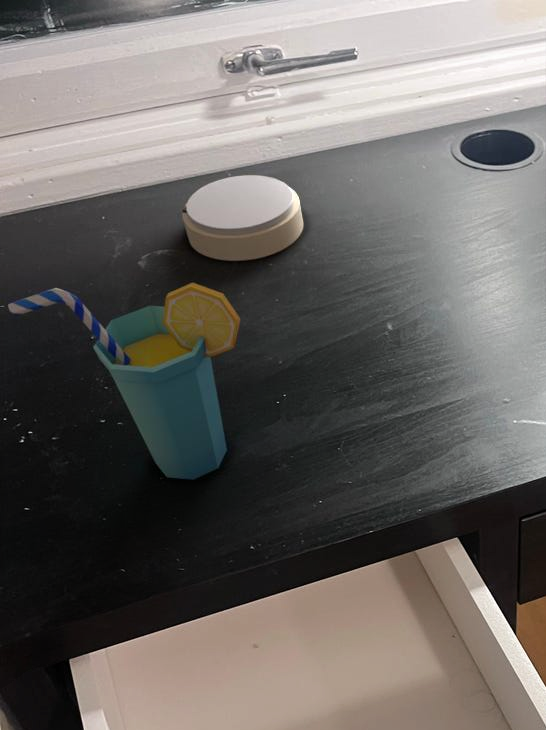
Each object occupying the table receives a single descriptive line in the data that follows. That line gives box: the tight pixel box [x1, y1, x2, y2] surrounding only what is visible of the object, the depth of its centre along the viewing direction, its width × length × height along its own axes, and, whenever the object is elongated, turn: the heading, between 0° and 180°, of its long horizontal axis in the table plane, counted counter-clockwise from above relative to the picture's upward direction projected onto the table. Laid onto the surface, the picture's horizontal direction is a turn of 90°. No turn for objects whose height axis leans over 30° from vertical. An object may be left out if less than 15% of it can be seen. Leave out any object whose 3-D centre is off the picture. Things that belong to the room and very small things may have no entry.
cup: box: [7, 282, 241, 481], centre depth 69 cm, size 14×8×15 cm, turn 103°
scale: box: [181, 174, 304, 262], centre depth 94 cm, size 11×11×3 cm
